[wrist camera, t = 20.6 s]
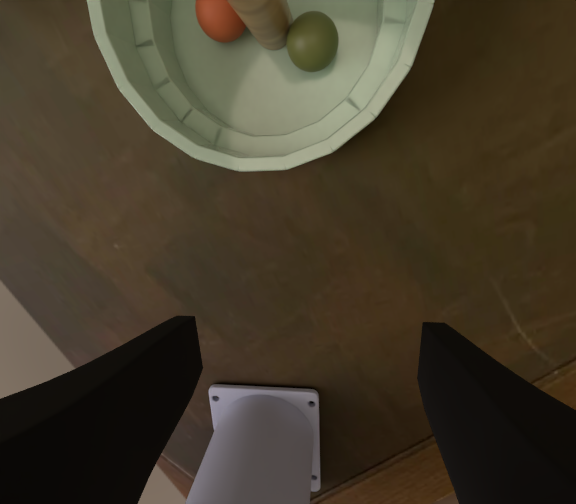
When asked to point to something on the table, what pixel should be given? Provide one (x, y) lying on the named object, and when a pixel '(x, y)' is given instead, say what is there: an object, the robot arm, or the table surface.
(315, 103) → the bowl
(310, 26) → the bead olive
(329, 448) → the table surface
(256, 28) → the stir stick
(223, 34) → the bead terracotta
